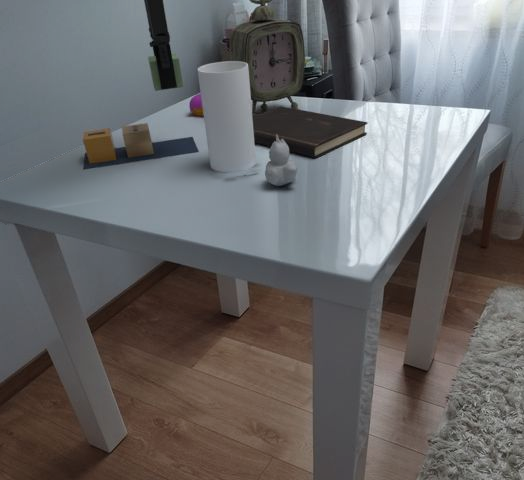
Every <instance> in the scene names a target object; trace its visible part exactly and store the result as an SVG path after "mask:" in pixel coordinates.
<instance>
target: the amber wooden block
mask: <svg viewBox="0 0 524 480" xmlns="http://www.w3.org/2000/svg"><path fill="white" fill-rule="evenodd" d="M82 142H83V145H84V149H85V153H86V152H87V156H88V159H89V163H90V164H93V163H99V162H106V161H112V160H116V150H115V148H116V147H115V143H114V139H113V134H112V131H111V128H103V129H96V130H95V129H94V130H88V131H84V132H83V135H82Z"/></svg>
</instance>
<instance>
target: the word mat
mask: <svg viewBox="0 0 524 480" xmlns="http://www.w3.org/2000/svg"><path fill="white" fill-rule="evenodd" d="M152 146H153V151H154V154H152V155H145V156H139V157H132V158H128V155H127V151H126V147H125V146H121V147H115V150H116V160H112V161H106V162H99V163H93V164H90V163H89V159H88V156H87V152H86V151H85V152H84V157H83V167H82V170H83V171H85V170H90V169H91V170H92V169H98V168H104V167H111V166H117V165H124V164H130V163H136V162H143V161H149V160H155V159H157V160H158V159H161V158H168V157H170V158H171V157H177V156H182V155H188V154H194V153H195V154H196V153H200V151H199V148H198V146H197V143H196V141H195V139H194V137H193V136H188V137H181V138H174V139H168V140H161V141H154V142H153V141H152Z"/></svg>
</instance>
